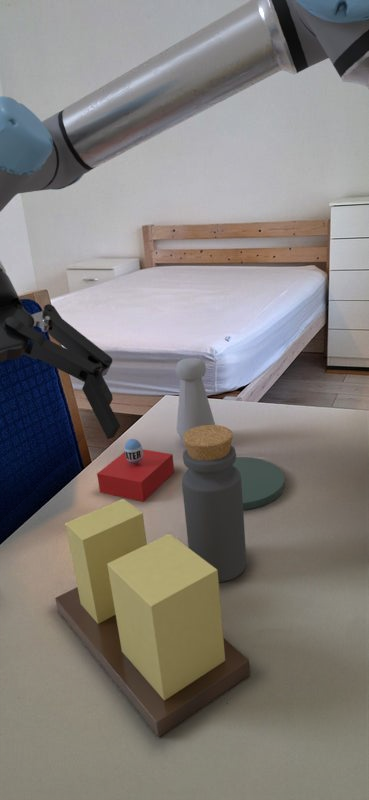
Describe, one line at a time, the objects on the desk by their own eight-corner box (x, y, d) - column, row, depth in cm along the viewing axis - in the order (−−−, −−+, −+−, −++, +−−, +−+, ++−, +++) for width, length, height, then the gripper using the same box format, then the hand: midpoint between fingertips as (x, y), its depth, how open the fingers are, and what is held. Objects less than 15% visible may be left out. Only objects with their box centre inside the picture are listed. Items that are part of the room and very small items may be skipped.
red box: (143, 501, 75) (137, 457, 73) (100, 492, 79) (93, 449, 76) (174, 472, 82) (169, 430, 79) (132, 464, 85) (127, 424, 83)
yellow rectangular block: (134, 576, 59) (123, 498, 56) (153, 594, 57) (142, 512, 53) (80, 604, 56) (64, 523, 53) (98, 624, 54) (82, 540, 50)
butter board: (136, 570, 63) (134, 558, 62) (250, 674, 49) (249, 660, 48) (57, 610, 58) (54, 597, 57) (158, 737, 44) (156, 722, 43)
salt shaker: (193, 431, 94) (185, 352, 89) (223, 438, 90) (218, 356, 86) (170, 446, 89) (161, 364, 85) (202, 454, 86) (194, 369, 81)
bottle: (181, 558, 64) (167, 431, 58) (230, 541, 66) (221, 417, 60) (205, 590, 59) (192, 454, 53) (256, 571, 61) (249, 438, 55)
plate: (242, 454, 85) (241, 448, 84) (304, 485, 75) (304, 478, 75) (173, 485, 79) (172, 478, 78) (231, 522, 69) (230, 514, 69)
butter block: (179, 618, 53) (169, 533, 50) (225, 660, 48) (217, 569, 45) (121, 651, 50) (106, 563, 47) (164, 701, 45) (151, 606, 42)
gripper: (71, 288, 75) (148, 431, 69) (-146, 332, 62) (-76, 513, 56) (84, 247, 69) (170, 400, 63) (-154, 287, 56) (-76, 484, 50)
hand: (54, 454), depth 59 cm, fingers open, 13 cm apart
